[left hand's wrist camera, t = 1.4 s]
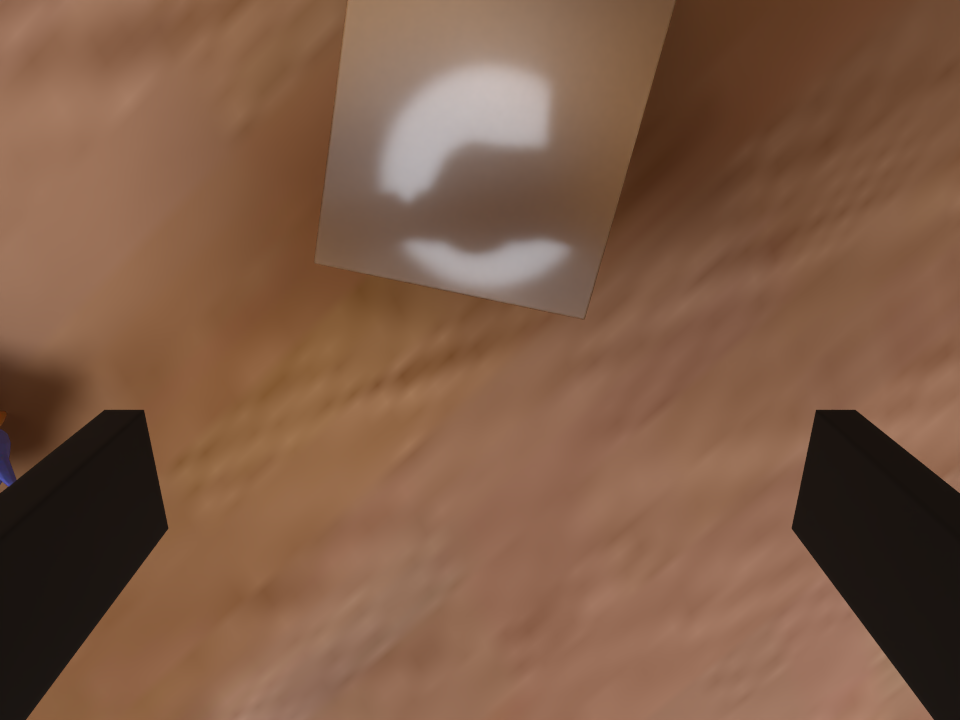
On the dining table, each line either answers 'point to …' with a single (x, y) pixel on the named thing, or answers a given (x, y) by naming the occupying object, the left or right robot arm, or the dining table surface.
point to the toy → (5, 455)
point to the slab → (486, 142)
